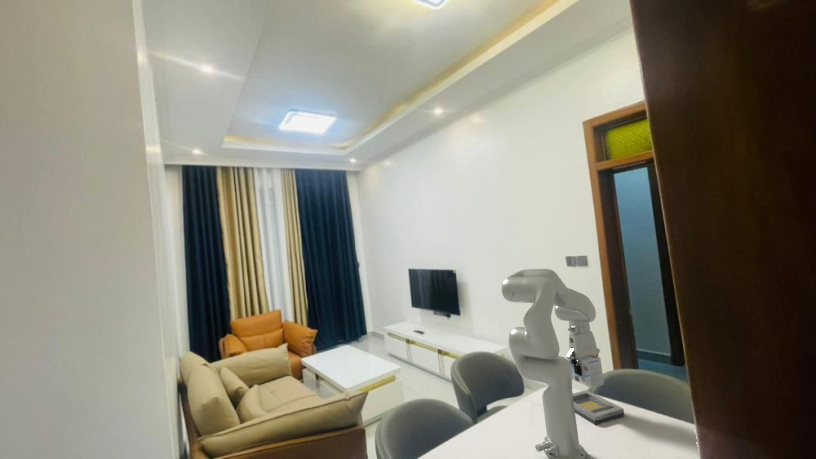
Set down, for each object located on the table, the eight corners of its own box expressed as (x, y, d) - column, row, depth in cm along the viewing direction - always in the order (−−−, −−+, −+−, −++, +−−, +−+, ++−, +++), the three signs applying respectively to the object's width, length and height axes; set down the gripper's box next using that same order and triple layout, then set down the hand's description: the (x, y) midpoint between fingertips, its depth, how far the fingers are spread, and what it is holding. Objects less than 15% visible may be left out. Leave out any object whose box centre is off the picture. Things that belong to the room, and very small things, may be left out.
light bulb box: (570, 379, 132) (566, 353, 133) (582, 375, 134) (579, 349, 135) (592, 388, 122) (587, 360, 123) (605, 384, 124) (601, 357, 125)
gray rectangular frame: (595, 425, 117) (594, 417, 117) (560, 403, 134) (559, 396, 135) (624, 416, 121) (623, 408, 121) (587, 396, 138) (586, 390, 138)
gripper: (569, 334, 124) (575, 380, 123) (604, 327, 128) (610, 371, 127) (555, 330, 131) (561, 373, 130) (589, 323, 136) (595, 365, 135)
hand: (585, 372), depth 129 cm, fingers closed on light bulb box, 6 cm apart
